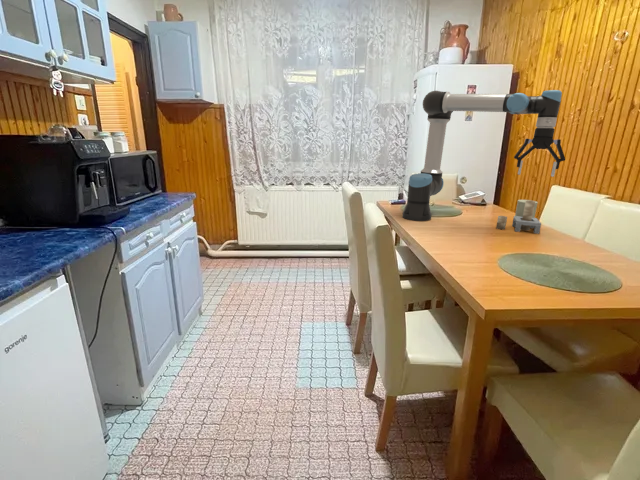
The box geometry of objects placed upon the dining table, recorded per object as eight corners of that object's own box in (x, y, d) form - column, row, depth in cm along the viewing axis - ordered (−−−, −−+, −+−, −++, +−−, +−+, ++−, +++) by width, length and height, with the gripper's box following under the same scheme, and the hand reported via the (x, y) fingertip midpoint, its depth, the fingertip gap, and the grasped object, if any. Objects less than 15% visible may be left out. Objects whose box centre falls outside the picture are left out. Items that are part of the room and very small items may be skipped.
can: (537, 225, 178) (542, 202, 175) (519, 224, 178) (523, 201, 175) (527, 220, 187) (531, 198, 183) (510, 220, 187) (514, 198, 184)
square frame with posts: (515, 231, 166) (517, 221, 164) (512, 225, 177) (513, 216, 175) (539, 233, 162) (541, 223, 161) (534, 227, 173) (536, 218, 172)
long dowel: (520, 230, 168) (526, 201, 164) (519, 228, 172) (525, 200, 168) (530, 231, 167) (536, 202, 163) (528, 229, 171) (534, 200, 166)
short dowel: (496, 229, 170) (498, 217, 168) (495, 227, 173) (497, 215, 171) (505, 229, 168) (507, 217, 166) (504, 228, 172) (506, 216, 170)
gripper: (514, 127, 157) (506, 174, 163) (580, 128, 148) (569, 178, 154) (512, 127, 163) (504, 173, 170) (575, 128, 155) (564, 176, 161)
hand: (535, 175), depth 162 cm, fingers open, 13 cm apart
